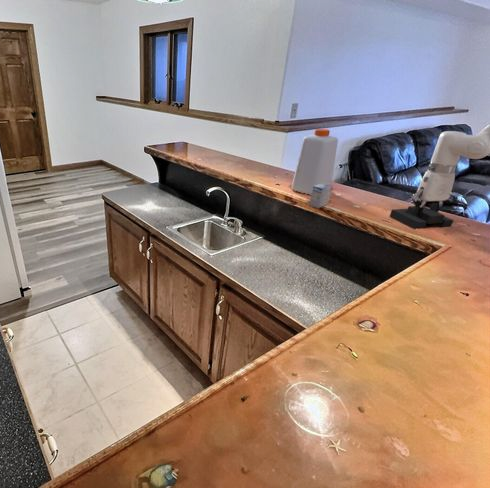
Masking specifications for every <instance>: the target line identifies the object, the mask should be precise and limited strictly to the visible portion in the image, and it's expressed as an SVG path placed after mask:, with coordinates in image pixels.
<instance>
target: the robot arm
mask: <svg viewBox="0 0 490 488" xmlns="http://www.w3.org/2000/svg"><path fill="white" fill-rule="evenodd" d="M489 155H490V123H489V124H488V125H486V126H485V127H484V128H483V129H482V130H480V131H479V132H478V133H477V134H467V133H465V132H463V131H457V130H445V131H443V132H441V133H440V134H439V137H438V139H437V142H436V145H435V148H434V151H433V153H432V156H431V159H430V162H429V165H428V166H427V170H426V171H425V173H424V175H423V176H422V178H421V180H420V183H419V185H418V187H417V190H416V192H415V193H414V194H413V195H411V196H410V198H411V200H412V202H413V206H415V208H414V211H413V214H412V215H413V216H416V217H418V218H420V217H421V214H422V212H423V209H424V208H423V206H424V207H425V205H426V203H427V202H432V203H431V205H430V207H429V209H431V210H434V211H436V212H438V213H439V212H440V209H441V207H443V205H444V204H445V203H446V202H447V201H448V200H449V199H450V198H451V197H452V195H451V193H452V191H453V187H454V184H455V178H456V172H455V170H456V169H457V166H458V163H459V160H460V158H461V157H462V158H466V159H472V160H480V159H483V158H485V157H487V156H489Z"/></svg>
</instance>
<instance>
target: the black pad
mask: <svg viewBox="0 0 490 488" xmlns="http://www.w3.org/2000/svg"><path fill="white" fill-rule="evenodd" d="M414 208H415V205H411V206H408V207H407V209H408V210H407V213H409V214H411V215H412V214H413V211H414ZM423 208H424V209H423V212H422V214H421V217H420V219H422V220H424V221H426V222H427V223H426V225H427V224H428V225H429V224H432V223H442V221H443V218H444V216H445V217H446V214H443V213H442V212H439V211H438V212H436V211H434V210H431V209H430V207H427V206H425V205H424V206H423Z"/></svg>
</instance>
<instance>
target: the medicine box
mask: <svg viewBox="0 0 490 488" xmlns="http://www.w3.org/2000/svg"><path fill="white" fill-rule="evenodd" d="M332 189H333V185H332V184H331V185H329V184H325V183H322V184H319V185H316V186H314V187H313V190H312V195H310V200H309V206H310V207H313V208H316V209H320V208H323V207H324V206H325V207H326V206H327V205H329V202H330V198H331V193H332Z"/></svg>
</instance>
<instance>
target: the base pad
mask: <svg viewBox="0 0 490 488" xmlns="http://www.w3.org/2000/svg"><path fill="white" fill-rule="evenodd" d="M407 210H408V208H396V209H395V208H393V209H391V210H390V214H389V217H390V218H392V219H394V220H395V221H398V222H399V223H402V224H403V225H405V226H407V227H409V228H411V229H413V230H423V229H425V228H426V226H427V222H426V221H424V220H422V219H420V218H418V217H416V216H413V215H411V214H409V213H407ZM453 223H454V219H452V218H450V217H447V216H446V215H445V216H444V218H443V221H442V223H431V224H432V225H435V226H437V227H439V228H451V227H452V226H453Z"/></svg>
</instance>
